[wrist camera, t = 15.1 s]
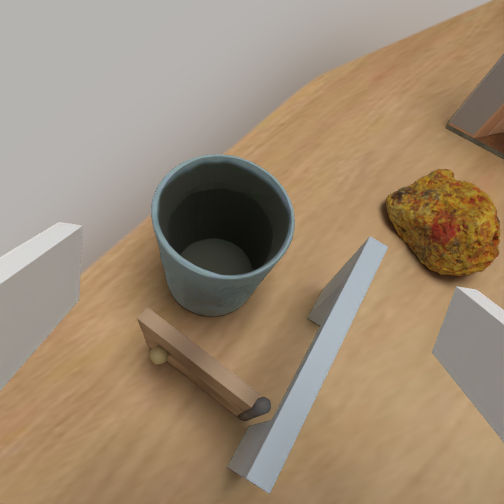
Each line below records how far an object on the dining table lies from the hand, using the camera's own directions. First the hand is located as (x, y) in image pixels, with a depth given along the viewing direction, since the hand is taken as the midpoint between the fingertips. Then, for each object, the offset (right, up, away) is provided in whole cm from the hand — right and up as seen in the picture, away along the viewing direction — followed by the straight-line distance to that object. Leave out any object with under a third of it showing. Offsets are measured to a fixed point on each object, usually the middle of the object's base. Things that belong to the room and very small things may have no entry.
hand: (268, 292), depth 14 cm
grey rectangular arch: (+3, -9, +22) cm, 24 cm away
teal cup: (-4, -1, +25) cm, 26 cm away
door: (-5, -10, +20) cm, 23 cm away
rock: (+19, +3, +31) cm, 37 cm away
